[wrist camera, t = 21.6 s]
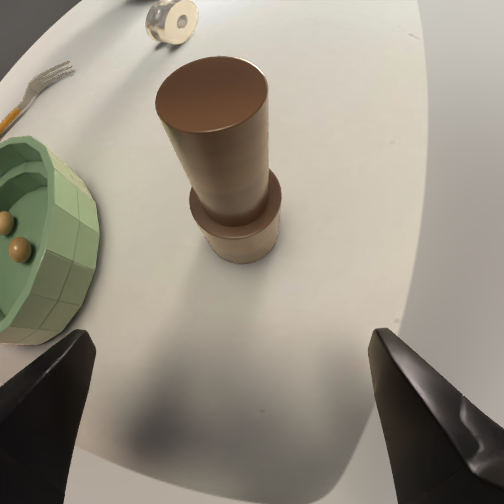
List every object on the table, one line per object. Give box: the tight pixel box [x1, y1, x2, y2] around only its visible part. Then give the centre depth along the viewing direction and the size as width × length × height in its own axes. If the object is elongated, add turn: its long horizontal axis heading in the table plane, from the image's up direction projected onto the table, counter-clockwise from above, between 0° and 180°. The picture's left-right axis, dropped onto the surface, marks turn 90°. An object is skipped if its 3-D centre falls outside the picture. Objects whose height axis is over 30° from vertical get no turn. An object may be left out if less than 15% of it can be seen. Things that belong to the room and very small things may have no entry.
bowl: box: [0, 136, 100, 345], centre depth 17 cm, size 14×14×6 cm
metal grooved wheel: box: [145, 0, 198, 44], centre depth 23 cm, size 5×3×5 cm, turn 150°
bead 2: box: [9, 237, 32, 263], centre depth 18 cm, size 2×2×2 cm
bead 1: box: [0, 211, 14, 235], centre depth 19 cm, size 2×2×2 cm
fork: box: [0, 61, 75, 135], centre depth 23 cm, size 2×2×20 cm
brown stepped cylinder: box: [155, 56, 281, 264], centre depth 13 cm, size 4×4×12 cm
